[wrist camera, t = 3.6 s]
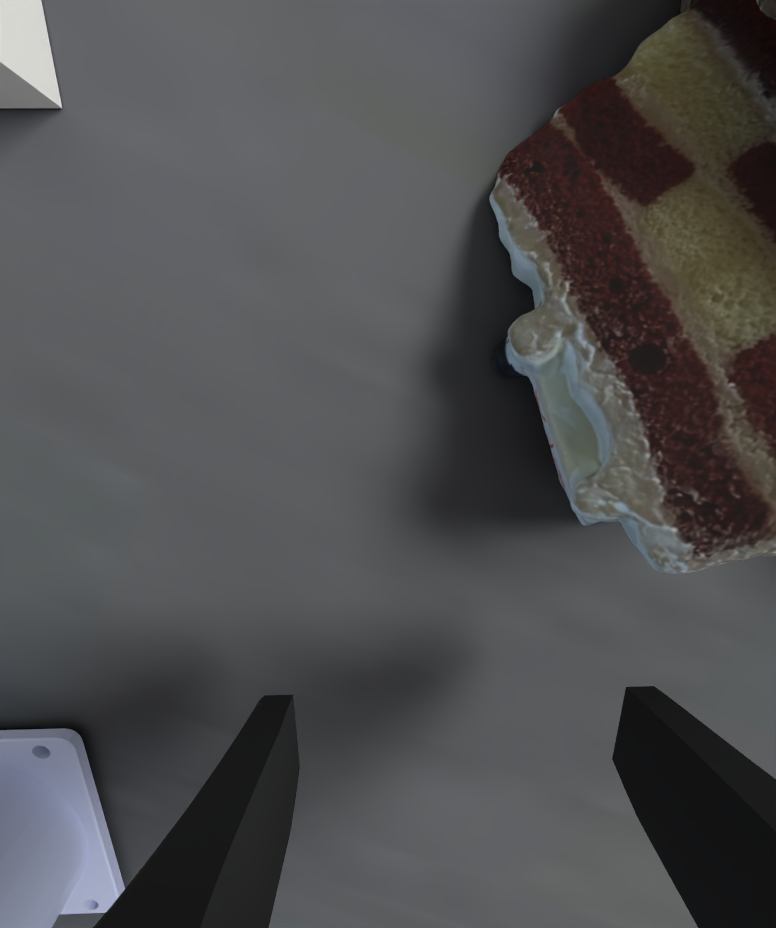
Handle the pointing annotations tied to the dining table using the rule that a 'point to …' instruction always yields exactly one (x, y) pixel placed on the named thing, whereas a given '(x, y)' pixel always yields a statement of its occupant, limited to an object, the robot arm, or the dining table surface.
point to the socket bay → (26, 57)
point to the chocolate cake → (658, 288)
